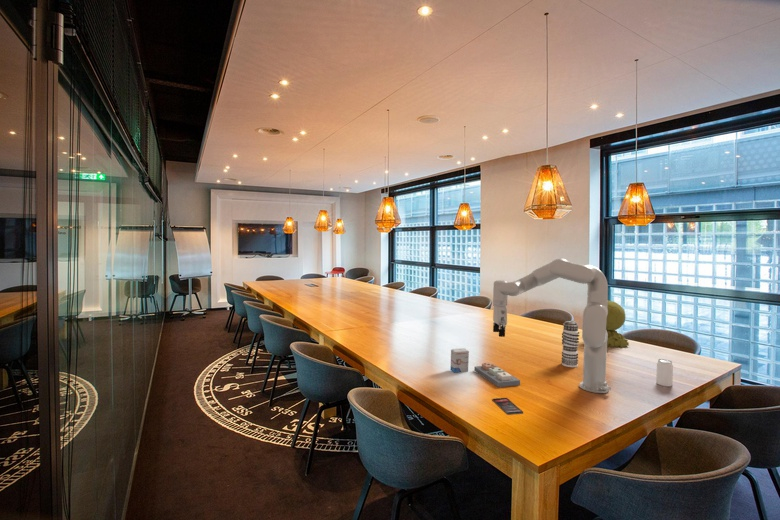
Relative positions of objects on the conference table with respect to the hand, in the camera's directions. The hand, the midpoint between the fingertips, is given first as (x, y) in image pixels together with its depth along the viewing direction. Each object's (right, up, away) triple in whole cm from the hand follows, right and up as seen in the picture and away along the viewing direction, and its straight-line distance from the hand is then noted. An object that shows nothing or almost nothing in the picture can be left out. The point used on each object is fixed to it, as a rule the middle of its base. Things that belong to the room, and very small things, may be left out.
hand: (498, 334), depth 207 cm
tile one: (-3, -19, -18) cm, 26 cm away
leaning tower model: (+44, -20, +10) cm, 49 cm away
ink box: (-22, -20, -1) cm, 30 cm away
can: (+77, -21, -19) cm, 82 cm away
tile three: (-7, -18, -4) cm, 20 cm away
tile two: (-5, -18, -11) cm, 22 cm away
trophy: (+92, -18, +57) cm, 109 cm away
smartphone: (-9, -23, -45) cm, 51 cm away
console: (-5, -20, -11) cm, 24 cm away
